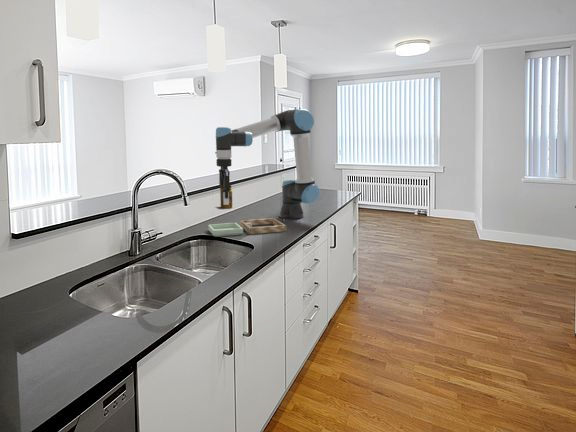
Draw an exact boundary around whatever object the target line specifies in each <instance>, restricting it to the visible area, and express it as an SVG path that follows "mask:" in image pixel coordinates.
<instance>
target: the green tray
mask: <svg viewBox="0 0 576 432" xmlns="http://www.w3.org/2000/svg"><path fill="white" fill-rule="evenodd" d="M208 231H209V233H210V234H211V233H212V234H211V235H212V236H213V237H214V238H215V237H216V238H217V237H223V236H224V237H225V236H227V237H228V236H240V235H244V229H243V228H242V227H241V226H240V224H238V223H237V222H226V223H224V222H223V223H213V224H211V223H210V224H208Z"/></svg>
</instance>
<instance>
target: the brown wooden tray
mask: <svg viewBox="0 0 576 432" xmlns="http://www.w3.org/2000/svg"><path fill="white" fill-rule="evenodd" d="M248 222H250V223H252V226H256V227H250V226H248V225H247V224H246V223H248ZM260 225H261V226H260ZM262 225H270V226H262ZM271 225H272V226H271ZM275 225H278V226H275ZM239 226H241V227H242V228H243V230H245V231H246V232H247V233H248V234H249V235H253V234H265V233H278V232H286V231H287V224H284V223H283V222H281V221H279V220H278V219H276V218H274V217H272V218H257V219H256V218H255V219H246V220H244V219H243V220H240V221H239Z"/></svg>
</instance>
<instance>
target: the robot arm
mask: <svg viewBox="0 0 576 432" xmlns="http://www.w3.org/2000/svg"><path fill="white" fill-rule="evenodd" d="M314 123H315V119H314V115H313V114H312V113H311V112H310V111H309V110H307V109H305V108H298V109H287V110H284V111H282V112H281V111H280V112H279V113H276V114H274V115H271V116H270V117H269V118H267V119H263V120H260V121H258V122H254V123H251V124H248V125H245V126H241V127H237V128H234V129H232V128H231V127H229V126H228V127H224V126H223V127H222V126H219V127H218V126H217V127H216V129H215V150H216V151H214V152H215V153H214V154H215V155H216V158H217V159H216V166H217V167H220V169H218V175H219V178H218V179H219V183H218V184H219V189H220V191H221V185H223V187H224V191H222V192H223V203H224V205H229V191H230V185H231V184H230V183H231V182H230V180H231V179H230V170H229V169H228V168H229V167H231V166H232V147H245V148H247V147H251V145H252V144H253V141H254V140H253V139H254V138H257V137H261V136H264V135H267V134H269V133H272V132H274V133H275V132H276V133H278V132H282V131H289V134H290V136H291V137H292V138H293V149H294V158H295V170H296V179H287V180H283V182H282V186H281V188H282V196H281V197H282V201H281V203H282V204H281V207H280V210H279V212H278V213H279V217H280V218H283V219H288V220H289V219H293V220H294V219H302V218H304V215H305V214H304V211H303V206H302V203H303V204H309V205H311V204H314V203H315V202H317V199H319V197H320V188H319V187H318V186H317V185H316V182H315V179H314V178H313V177H312V165H311V153H310V142H309V140H310V139H309V135H310V134H311V129H312V128H313V126H314Z"/></svg>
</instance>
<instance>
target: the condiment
mask: <svg viewBox="0 0 576 432" xmlns="http://www.w3.org/2000/svg"><path fill="white" fill-rule="evenodd" d="M222 191H224V187H223V185H221V191H220V192H219V194H220V206H214V208H215V209H218V210H220V211H221V210H231V209H234V207H233V190H232V184H230V191H229V205H224V203H223V192H222Z"/></svg>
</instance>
